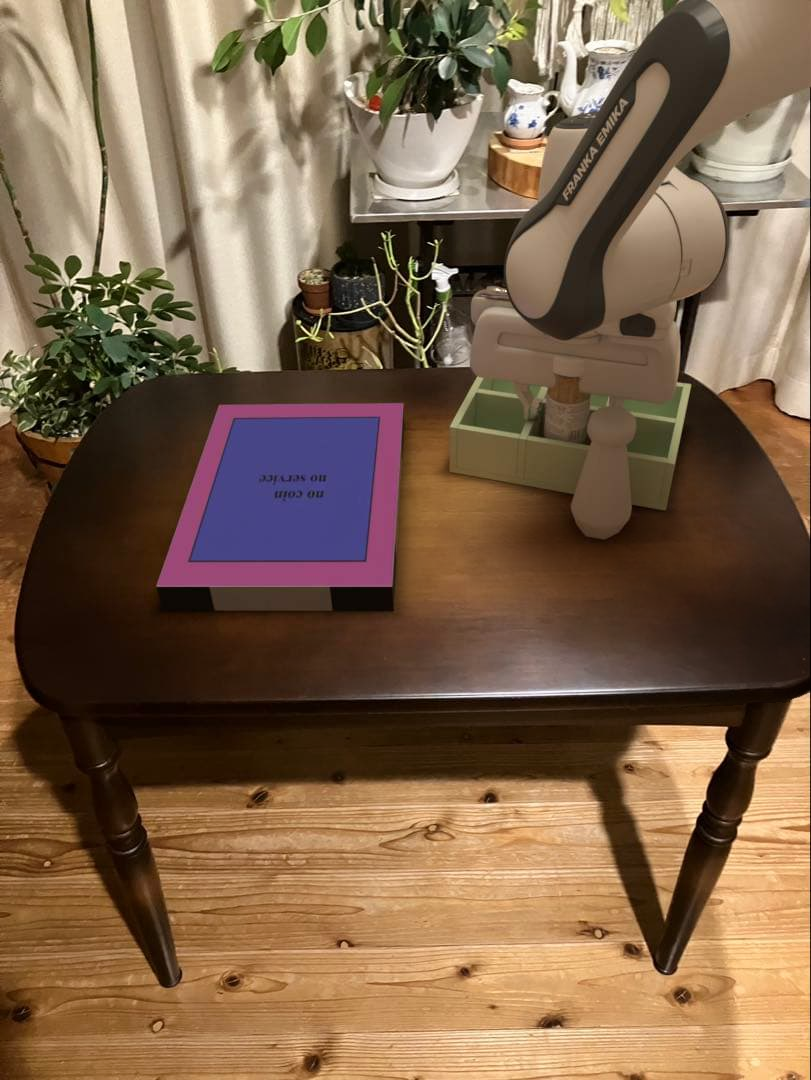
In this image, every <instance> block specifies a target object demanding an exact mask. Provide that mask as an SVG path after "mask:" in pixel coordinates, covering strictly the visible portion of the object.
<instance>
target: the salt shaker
mask: <svg viewBox="0 0 811 1080" xmlns="http://www.w3.org/2000/svg"><path fill="white" fill-rule="evenodd" d="M635 431H636V419H635V418H634V416H633V414H631V413H630V412H629V411H627V410H625V409H623V408H620V407H616V406H606V407H602V408H599V409H598V410H596V411H595V412H593V413H592V414H591V416H590V419H589V422H588V426H587V432H588V435H589V437H590V439H591V440H592V442H591V445H590V448H589V451H588V454H587V457H586V460H585V463H584V466H583V469H582V473H581V476H580V479H579V482H578V485H577V488H576V491H575V494H573V496H572V499H571V503H570V511H571V513H572V516H573V519H574V522H575V524H576V526H577V527H578V528H579V530H580V531H581V532H582V534H583V536H585V537H586V538H587V537H588V538H593V539H599V540H607V539H609V538H611V537H613V536H615V535H617V534H618V533H620V532H621V530H622V529H623V528H624V527H625V525H626V524H627V523H628V522H629V521H630V518H631V515H632V508H633V505H632V503H631V492H630V480H629V469H628V458H627V444H629V443H630V442H631V441H632V440H633V439H634V435H635Z"/></svg>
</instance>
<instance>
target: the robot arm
mask: <svg viewBox="0 0 811 1080" xmlns="http://www.w3.org/2000/svg"><path fill="white" fill-rule="evenodd" d="M810 88H811V0H678V1H677V2H676V3H675V4H674V6H672V7H671V8H670V9H669V10H668V12H666V13H665V14H664V16H662V18H661V19H660V21H658V22H657V24H656V25H655V26H654V27H653V28H652V30H651V31H650V32H649V33H648V34H647V35H646V36H645V38H644V39H643V41H642V42H641V43H640V45H639V46H638V48H636V51H634V53H633V54H632V56H631V58H630V59H629V61H628V62H627V64H626V65H625V67H624V69H623V70H622V71H621V73H620V75H619V76H618V78H617V80H616V81H615V83H614V85H613V86H612V88H611V90H610V91H609V93H608V95H606V98H605V100H604V101H603V103H602V105H601V106H600V108H599V109H598V111H590V112H585V113H580V114H576V115H573V116H572V115H571V116H568V117H566V118H563V119H562V120H561V121H559V122H558V123H556V124H555V125H554V126H553V127H552V129H551V131H550V133H549V134H548V138H547V141H546V145H545V148H544V153H543V157H542V162H541V169H540V173H539V174H540V176H539V183H538V184H539V185H538V192H537V203H536V204H535V205H534V206H532V207H531V208H529V210H527V211H526V212H525V213H524V214H523V216H522V217H521V219H520V220H519V222H518V223H517V225H516V227H515V228H514V230H513V233H512V235H511V237H510V240H509V243H508V245H507V248H506V253H505V256H504V261H503V262H504V263H503V282H504V287H505V288H504V287H501V286H496V285H489V286H486V289H481V290H479V291H477V292H476V293H474V295H473V296H472V298H471V300H470V319H471V321H472V324H473V325H474V326H475V328H474V331H473V335H472V336H473V337H472V340H471V346H470V347H471V348H470V353H469V354H470V355H469V368H470V370H471V371H472V372H473V373H474V375H475V377H476V378H477V377H481V378H487V379H494V380H501V381H508V382H515V387H514V391H515V392H516V394H517V396H518V398H519V399H520V401H521V403H522V404H523V405H524V419H529V420H536V421H538V419H539V417H540V414H541V405H542V399H539V398H534V396H533V394H532V391H531V389H530V385H535V386H541V387H548V388H554V386H555V382H556V381H555V380H556V378H555V376H554V375H555V374H556V373H555V372H553V361H554V357H555V356H564V357H572V358H579V359H582V360H584V361H585V366H584V375H583V376H580V377H579V378H581V380H580V381H579V390H580V392H582V393H589V394H595V395H602V396H609V404H610V405H609V406H616V407H620V408H622V407H623V403H624V400H625V399H629V400H636V401H643V402H649V403H656V404H665V403H667V402H668V401H669V400H670V399H672V398H673V397H674V394H675V391H676V386H677V382H678V379H679V373H680V364H681V333H680V329H679V327H678V324H677V323H676V321H675V317H676V314H677V306H678V305H677V304H678V303H677V302H678V301H680V300H684V299H686V298H689V297H691V296H694V295H696V294H698V293H699V292H704V291H705V290H707V289H709V287H711V286H712V285H713V284H714V283H715V282H716V280H717V279H718V277H719V276H720V274H721V272H722V270H723V268H724V266H725V263H726V260H727V256H728V251H729V245H730V226H729V220H728V215H727V212H726V210H725V207H724V204H723V203H722V201H721V200H720V198H719V196H718V195H717V193H715V191H713V190H712V189H711V188H710V187H709V186H708V185H707V184H706V183H704V182H703V181H701V180H698V179H695V178H692V177H688V176H687V175H686V174H685V173H684V172H682V171H681V170H680V169H679V168H678V167H676V165H677V164H678V163H679V162H680V161H681V160H682V159H683V158H684V157H685V156H686V155H687V154H688V153H690V152H691V151H692V150H693V149H694V148H695V147H697V146H698V145H699V144H701V143H702V142H703V141H704V140H706V139H707V138H709V137H711V136H712V135H713V134H715V133H716V132H718V131H720V130H721V129H723V128H725V127H727V126H729V125H730V124H732V123H735V122H736V121H738V120H740V119H741V118H742V119H743V118H744V117H746V116H747V115H748V116H749V115H750V114H752V113H755V112H756V111H758V110H760V109H763V108H765V107H767V106H769V105H772V104H774V103H776V102H779V101H780V100H784V99H785V98H788V97H790V96H792V95H795V94H797V93H799V92H802V91H805V90H807V89H810ZM598 409H599V408H598Z"/></svg>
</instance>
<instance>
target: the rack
mask: <svg viewBox="0 0 811 1080" xmlns="http://www.w3.org/2000/svg"><path fill="white" fill-rule="evenodd" d="M514 387H515V382H508V381H501V380H494V379H487V378H481V377H477V376H476V378H475V379H474V381H473V383H472V385H471V387H470V389H469V391H468V393H467V394H466V395H465V398H464V399H463V401H462V403H461V405H460V406H459V409H458V411H457V412H456V414H455V416H454V418H453V420H452V422H451V423H450V425H449V473H452V474H453V473H454V474H458V475H465V476H470V477H476V478H481V479H487V480H492V481H497V482H504V483H509V484H513V485H514V484H515V485H520V486H525V487H532V488H536V489H543V490H549V491H554V492H560V493H564V494H570V495H574V494H575V491H576V488H577V485H578V482H579V479H580V476H581V473H582V469H583V466H584V463H585V460H586V457H587V454H588V451H589V448H590V445H591V442H592V440H591V439H590V437H589V435H588V432H587V435H586V439H585V445H583V444H577V443H571V442H565V441H559V440H553V439H547V438H544V423H545V410H546V397H547V390H548V387H541V386H535V385H530V389H531V391H532V394H533V396H534V398H539V399H542V405H541V414H540V417H539V419H538V421H536V420H529V419H524V405H523V404H522V403H521V401H520V399H519V398H518V396H517V394H516V392H515V391H514ZM691 389H692V384H691V383H686V382H678V381H677V386H676V391H675V394H674V397H673V398H672V399H670V400H669V401H668V402H667V403H665V404H656V403H649V402H643V401H636V400H629V399H625V400H624V403H623V407H622V408H623V409H625V410H627V411H629V412H630V413H631V414H633V416H634V418H635V419H636V431H635V435H634V439H633V440H632V441H631V442H630V443H629V444H627V458H628V469H629V480H630V492H631V503H632V506H637V507H641V508H642V507H643V508H647V509H648V508H649V509H654V510H659V511H667V506H668V502H669V496H670V491H671V487H672V481H673V476H674V473H675V467H676V463H677V458H678V454H679V448H680V443H681V440H682V439H681V438H682V434H683V429H684V424H685V419H686V414H687V409H688V403H689V398H690V394H691ZM609 405H610V404H609V396H602V395H595V394H591V400H590V409H589V418H588V422H589V419H590V416H591V414H592V413H593V412H595V411H596V410H598V408H602V407H606V406H609Z"/></svg>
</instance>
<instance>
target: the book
mask: <svg viewBox="0 0 811 1080" xmlns="http://www.w3.org/2000/svg"><path fill="white" fill-rule="evenodd" d="M404 404H405V403H404V402H378V403H377V402H373V403H372V402H371V403H370V402H369V403H365V402H363V403H362V402H361V403H360V402H359V403H274V404H273V403H267V404H266V403H264V404H263V403H260V404H259V403H255V404H244V403H243V404H219V405H218V407H217V410H216V413H215V416H214V419H213V422H212V424H211V427H210V429H209V433H208V436H207V438H206V442H205V445H204V447H203V451H202V453H201V456H200V458H199V462H198V465H197V468H196V470H195V473H194V477H193V479H192V483H191V485H190V488H189V491H188V493H187V497H186V500H185V502H184V505H183V508H182V511H181V514H180V517H179V520H178V523H177V526H176V529H175V531H174V534H173V536H172V539H171V543H170V545H169V547H168V552H167V555H166V558H165V560H164V563H163V566H162V569H161V572H160V574H159V576H158V577H159V578H158V580H157V583H156V590H157V595H158V598H159V601H160V604H161V609H162V611H165V612H166V611H167V612H168V611H169V612H170V611H171V612H172V611H175V612H176V611H177V612H179V611H191V612H193V611H195V612H196V611H198V612H199V611H201V612H202V611H203V612H205V611H208V612H209V611H211V612H212V611H214V612H215V611H216V612H217V611H219V612H220V611H222V612H223V611H227V612H231V611H232V612H234V611H235V612H236V611H237V612H238V611H239V612H241V611H242V612H243V611H245V612H247V611H248V612H251V611H252V612H253V611H254V612H255V611H256V612H258V611H259V612H262V611H264V612H266V611H267V612H269V611H270V612H274V611H275V612H276V611H277V612H279V611H281V612H288V611H289V612H292V611H293V612H298V611H299V612H345V611H346V612H361V611H362V612H394V610H395V593H396V575H397V558H398V544H399V543H398V542H399V541H398V540H399V526H400V525H399V524H400V508H401V507H400V506H401V493H402V492H401V491H402V490H401V489H402V472H403V455H404V440H405V439H404V438H405V405H404Z"/></svg>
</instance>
